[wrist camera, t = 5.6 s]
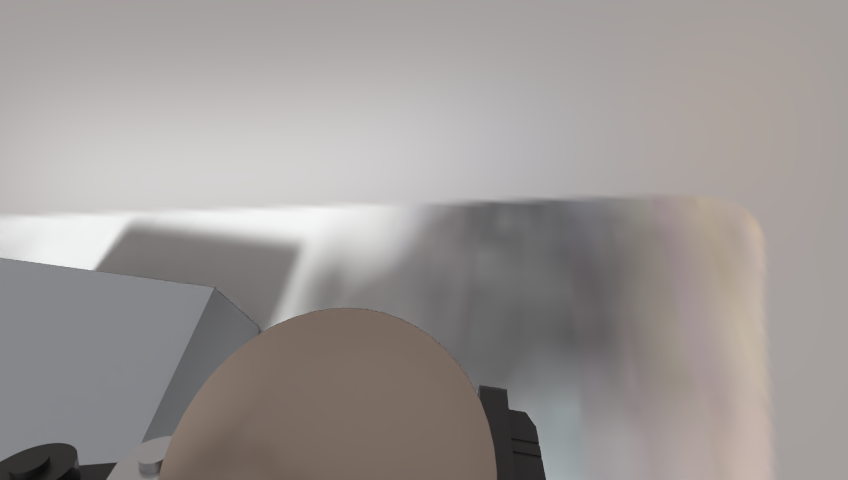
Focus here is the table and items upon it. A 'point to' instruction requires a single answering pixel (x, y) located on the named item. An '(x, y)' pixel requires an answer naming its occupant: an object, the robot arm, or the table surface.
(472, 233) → the table surface
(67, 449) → the robot arm
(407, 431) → the canister
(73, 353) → the stand
